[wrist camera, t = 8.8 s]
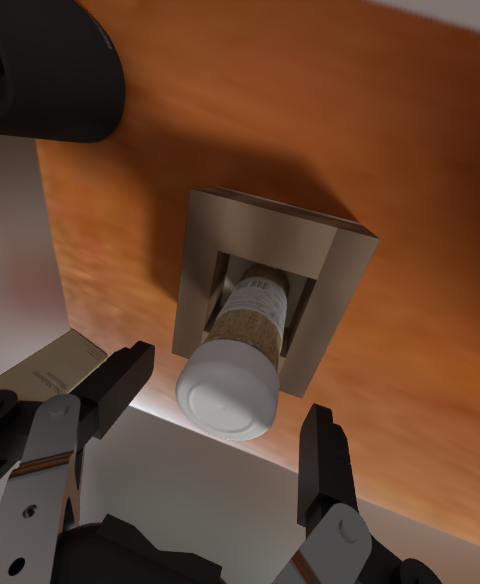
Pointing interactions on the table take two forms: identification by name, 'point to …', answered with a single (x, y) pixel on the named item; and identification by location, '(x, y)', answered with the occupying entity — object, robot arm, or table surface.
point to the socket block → (276, 253)
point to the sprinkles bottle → (239, 360)
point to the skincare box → (53, 368)
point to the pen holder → (57, 73)
